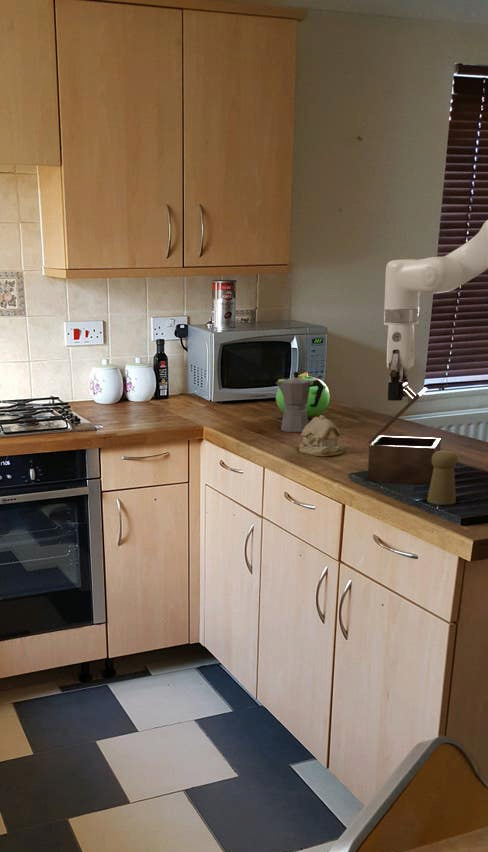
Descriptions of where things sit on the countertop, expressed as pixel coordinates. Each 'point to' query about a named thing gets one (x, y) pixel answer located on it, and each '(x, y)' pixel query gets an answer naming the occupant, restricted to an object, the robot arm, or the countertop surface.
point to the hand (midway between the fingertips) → (397, 397)
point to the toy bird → (311, 397)
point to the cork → (443, 478)
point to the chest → (402, 459)
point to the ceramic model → (320, 438)
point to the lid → (408, 394)
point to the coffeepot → (297, 402)
